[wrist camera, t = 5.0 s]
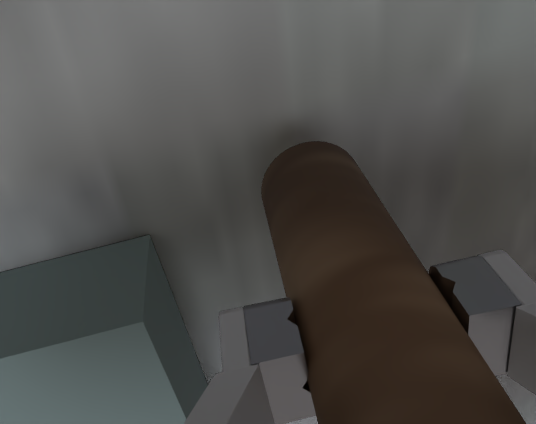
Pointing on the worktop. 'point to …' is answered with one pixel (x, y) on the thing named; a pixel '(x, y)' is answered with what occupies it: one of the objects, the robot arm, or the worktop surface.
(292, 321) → the robot arm
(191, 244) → the worktop surface
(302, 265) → the long peg
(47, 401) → the hole block
